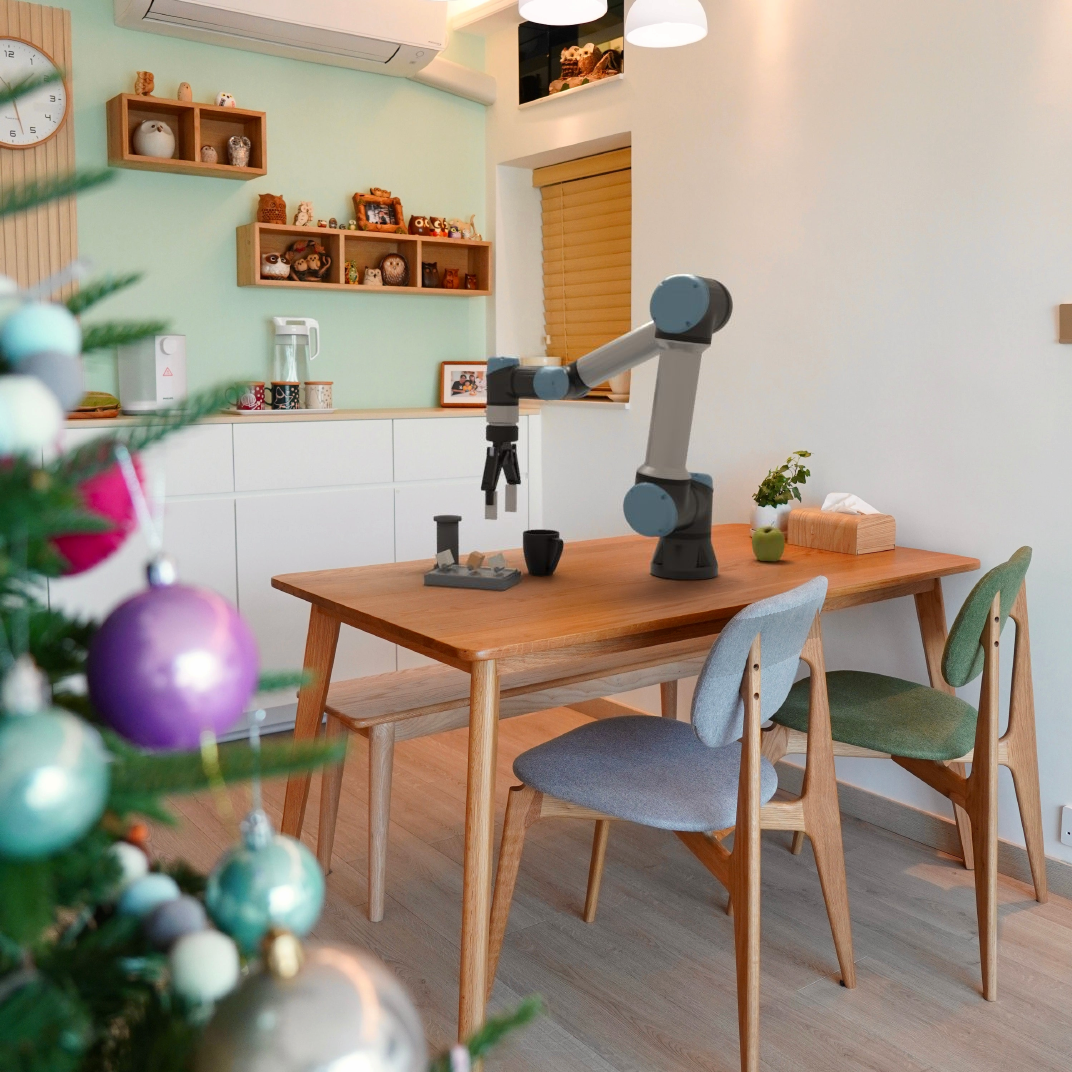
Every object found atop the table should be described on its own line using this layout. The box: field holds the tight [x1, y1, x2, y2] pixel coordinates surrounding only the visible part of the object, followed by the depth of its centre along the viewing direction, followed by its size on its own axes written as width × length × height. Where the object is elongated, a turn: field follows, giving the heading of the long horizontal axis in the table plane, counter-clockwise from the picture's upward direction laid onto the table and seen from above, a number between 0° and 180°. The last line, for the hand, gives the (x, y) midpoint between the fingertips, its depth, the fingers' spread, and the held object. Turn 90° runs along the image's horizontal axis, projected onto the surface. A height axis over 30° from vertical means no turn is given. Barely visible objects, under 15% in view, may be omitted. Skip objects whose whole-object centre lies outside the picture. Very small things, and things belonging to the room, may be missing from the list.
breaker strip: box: [423, 564, 522, 591], centre depth 229 cm, size 18×11×3 cm, turn 72°
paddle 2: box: [486, 552, 508, 573], centre depth 226 cm, size 2×4×4 cm, turn 161°
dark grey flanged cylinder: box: [432, 514, 463, 570], centre depth 244 cm, size 6×6×12 cm
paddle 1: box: [434, 549, 454, 569], centre depth 230 cm, size 2×4×4 cm, turn 161°
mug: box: [522, 529, 565, 577], centre depth 237 cm, size 8×12×10 cm
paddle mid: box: [465, 550, 486, 571], centre depth 228 cm, size 2×4×4 cm, turn 163°
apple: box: [751, 521, 786, 562], centre depth 257 cm, size 8×8×10 cm
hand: (501, 515), depth 249 cm, fingers open, 13 cm apart
